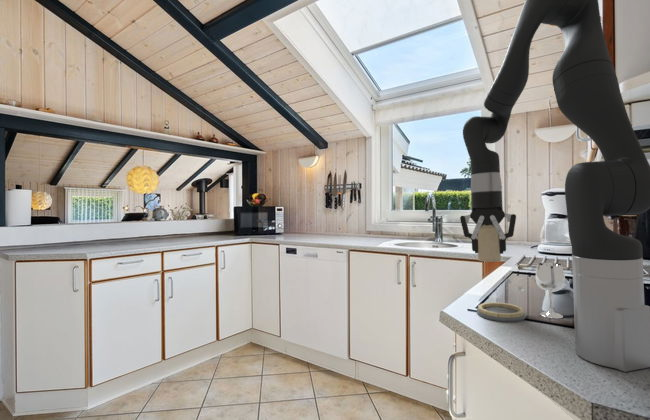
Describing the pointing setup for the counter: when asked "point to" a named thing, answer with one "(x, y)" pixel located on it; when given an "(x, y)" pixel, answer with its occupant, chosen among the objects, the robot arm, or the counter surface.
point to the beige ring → (501, 312)
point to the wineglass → (550, 283)
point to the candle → (488, 244)
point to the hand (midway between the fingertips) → (488, 252)
